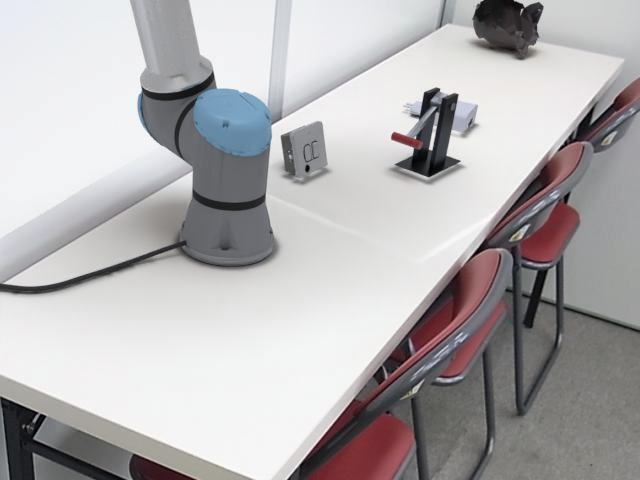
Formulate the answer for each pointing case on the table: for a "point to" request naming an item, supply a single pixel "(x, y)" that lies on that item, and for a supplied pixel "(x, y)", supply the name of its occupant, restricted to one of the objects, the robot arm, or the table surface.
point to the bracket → (436, 158)
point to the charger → (461, 119)
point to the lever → (420, 124)
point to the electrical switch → (304, 149)
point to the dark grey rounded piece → (507, 23)
